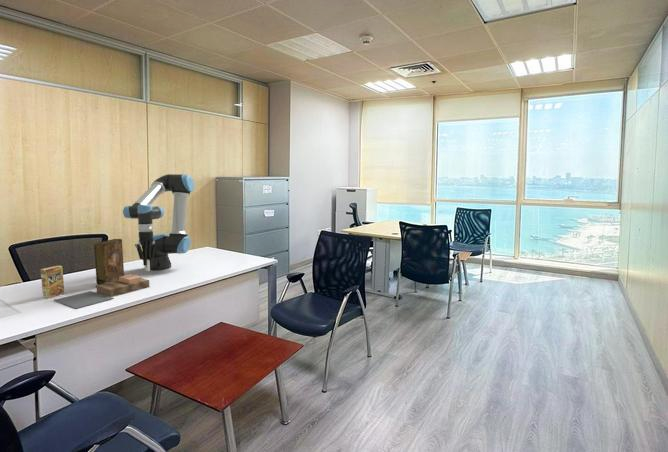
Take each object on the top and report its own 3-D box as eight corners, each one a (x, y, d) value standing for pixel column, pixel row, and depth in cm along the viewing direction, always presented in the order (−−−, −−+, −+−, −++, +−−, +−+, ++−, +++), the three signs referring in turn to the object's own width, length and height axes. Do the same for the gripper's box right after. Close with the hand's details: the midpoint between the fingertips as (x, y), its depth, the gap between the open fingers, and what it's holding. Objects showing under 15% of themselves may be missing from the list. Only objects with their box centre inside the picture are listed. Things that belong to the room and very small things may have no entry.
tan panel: (135, 283, 231) (134, 276, 230) (149, 287, 224) (149, 280, 223) (96, 292, 212) (96, 285, 212) (111, 297, 205) (110, 289, 204)
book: (118, 278, 239) (115, 238, 236) (125, 279, 238) (123, 239, 235) (96, 286, 224) (93, 243, 220) (105, 286, 222) (102, 243, 219)
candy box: (47, 298, 201) (45, 269, 199) (42, 297, 203) (39, 268, 200) (65, 293, 209) (62, 266, 207) (59, 292, 211) (57, 265, 209)
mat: (90, 291, 213) (90, 290, 213) (113, 299, 202) (113, 298, 202) (53, 300, 198) (53, 299, 198) (76, 309, 187) (76, 308, 187)
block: (130, 278, 226) (130, 274, 226) (141, 281, 221) (141, 276, 221) (119, 281, 220) (118, 276, 220) (129, 284, 215) (129, 279, 215)
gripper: (139, 232, 219) (140, 273, 222) (159, 230, 230) (161, 269, 233) (131, 231, 223) (133, 271, 226) (152, 229, 234) (153, 267, 237)
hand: (147, 270), depth 229 cm, fingers closed
